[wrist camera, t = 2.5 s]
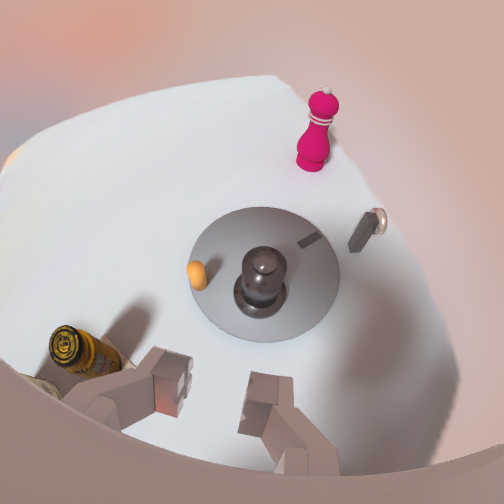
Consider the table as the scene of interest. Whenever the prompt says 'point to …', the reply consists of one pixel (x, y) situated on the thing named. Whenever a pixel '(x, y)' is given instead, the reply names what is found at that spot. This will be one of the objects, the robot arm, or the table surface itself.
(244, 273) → the urn
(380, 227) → the grey bar with dome
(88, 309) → the table surface
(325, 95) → the pepper mill
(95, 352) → the condiment
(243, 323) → the turntable
